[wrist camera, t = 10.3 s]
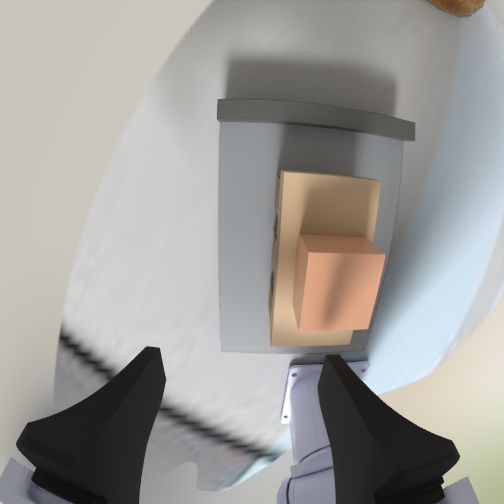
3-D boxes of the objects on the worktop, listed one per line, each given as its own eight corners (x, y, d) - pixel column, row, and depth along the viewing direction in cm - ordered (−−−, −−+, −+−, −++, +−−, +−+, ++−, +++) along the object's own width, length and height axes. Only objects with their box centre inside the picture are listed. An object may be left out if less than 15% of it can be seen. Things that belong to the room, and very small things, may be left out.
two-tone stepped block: (334, 311, 20) (349, 344, 16) (267, 311, 20) (270, 346, 16) (354, 173, 16) (381, 181, 13) (276, 167, 16) (284, 172, 13)
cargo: (353, 304, 15) (367, 329, 13) (292, 304, 15) (298, 331, 13) (365, 237, 14) (385, 254, 11) (299, 234, 14) (308, 252, 11)
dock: (357, 336, 23) (369, 361, 20) (223, 337, 23) (219, 364, 20) (390, 125, 17) (415, 122, 14) (224, 108, 17) (217, 99, 14)
